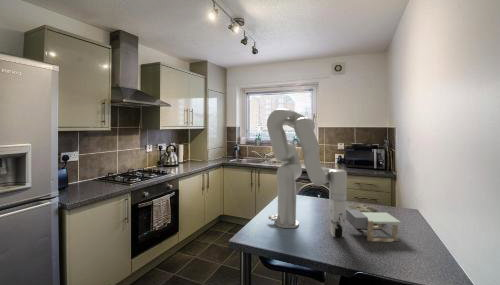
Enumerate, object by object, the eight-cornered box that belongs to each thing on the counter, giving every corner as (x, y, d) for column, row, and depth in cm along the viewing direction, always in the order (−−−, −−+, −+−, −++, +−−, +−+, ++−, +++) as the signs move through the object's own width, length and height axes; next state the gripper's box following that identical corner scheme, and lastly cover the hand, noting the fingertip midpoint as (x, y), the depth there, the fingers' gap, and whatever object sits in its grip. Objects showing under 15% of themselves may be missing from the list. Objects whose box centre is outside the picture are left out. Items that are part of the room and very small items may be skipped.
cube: (332, 236, 117) (333, 224, 116) (329, 232, 122) (329, 220, 121) (343, 236, 116) (343, 224, 116) (339, 232, 121) (340, 220, 121)
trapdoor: (355, 228, 114) (355, 217, 113) (345, 218, 126) (346, 209, 125) (400, 229, 113) (401, 218, 113) (386, 219, 125) (387, 209, 125)
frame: (368, 241, 112) (368, 221, 112) (354, 227, 127) (355, 210, 127) (397, 241, 112) (398, 221, 111) (380, 227, 127) (381, 210, 127)
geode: (349, 221, 149) (350, 226, 135) (343, 206, 151) (344, 209, 137) (378, 214, 145) (383, 218, 131) (372, 198, 147) (376, 200, 133)
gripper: (324, 191, 126) (323, 226, 128) (335, 201, 109) (334, 242, 111) (339, 191, 126) (338, 226, 127) (352, 201, 109) (351, 242, 110)
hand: (336, 233), depth 119 cm, fingers closed on cube, 5 cm apart
